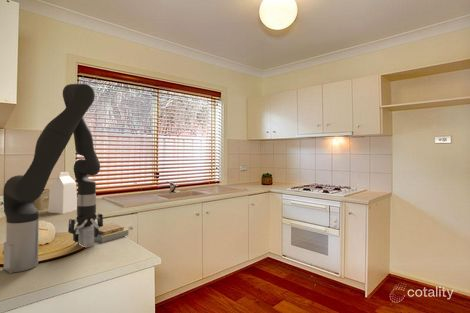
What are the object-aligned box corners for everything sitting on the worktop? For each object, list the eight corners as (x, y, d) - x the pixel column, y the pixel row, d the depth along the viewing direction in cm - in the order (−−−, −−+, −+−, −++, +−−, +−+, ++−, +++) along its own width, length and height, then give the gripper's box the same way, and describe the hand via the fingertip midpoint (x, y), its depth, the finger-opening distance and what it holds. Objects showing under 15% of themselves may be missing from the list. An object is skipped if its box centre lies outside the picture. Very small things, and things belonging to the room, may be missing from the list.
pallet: (103, 235, 126) (103, 232, 126) (90, 231, 132) (90, 227, 132) (124, 230, 136) (124, 226, 136) (111, 226, 142) (111, 222, 141)
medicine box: (94, 246, 120) (94, 226, 120) (83, 248, 117) (83, 228, 116) (87, 241, 125) (87, 223, 125) (77, 243, 122) (77, 225, 122)
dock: (102, 242, 124) (102, 236, 124) (85, 236, 132) (85, 230, 132) (128, 234, 136) (128, 229, 136) (111, 229, 144) (112, 224, 144)
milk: (63, 213, 173) (63, 173, 172) (48, 212, 175) (48, 172, 174) (77, 209, 184) (78, 172, 184) (63, 208, 187) (63, 171, 186)
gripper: (74, 207, 112) (74, 245, 113) (106, 202, 124) (105, 236, 125) (65, 205, 116) (65, 241, 117) (97, 200, 128) (96, 233, 129)
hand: (86, 239), depth 121 cm, fingers open, 8 cm apart
